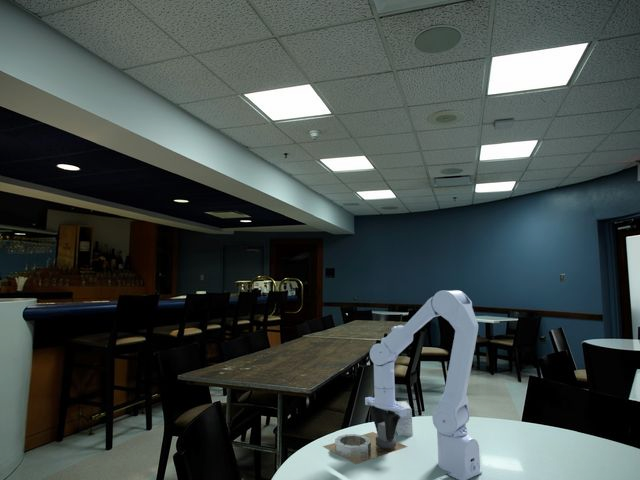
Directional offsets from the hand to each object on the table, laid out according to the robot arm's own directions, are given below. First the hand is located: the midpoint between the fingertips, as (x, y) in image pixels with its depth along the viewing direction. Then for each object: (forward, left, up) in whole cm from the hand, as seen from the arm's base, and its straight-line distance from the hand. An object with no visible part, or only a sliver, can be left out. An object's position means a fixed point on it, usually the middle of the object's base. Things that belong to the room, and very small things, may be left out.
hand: (385, 437), depth 111 cm
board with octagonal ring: (+4, +5, -3) cm, 7 cm away
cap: (0, 0, -2) cm, 2 cm away
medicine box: (+6, -13, -4) cm, 15 cm away
